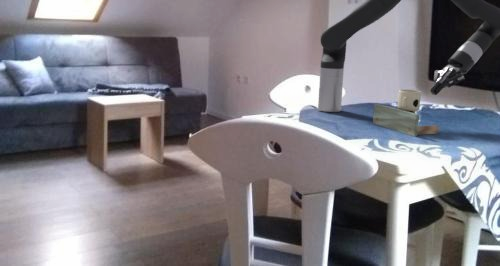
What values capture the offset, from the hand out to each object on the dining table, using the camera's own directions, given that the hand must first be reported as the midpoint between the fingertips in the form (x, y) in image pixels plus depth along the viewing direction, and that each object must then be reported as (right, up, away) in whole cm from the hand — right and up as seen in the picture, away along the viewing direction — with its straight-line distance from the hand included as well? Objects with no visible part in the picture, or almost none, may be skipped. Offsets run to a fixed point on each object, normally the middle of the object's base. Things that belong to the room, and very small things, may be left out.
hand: (432, 93), depth 166 cm
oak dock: (-9, -12, -2) cm, 16 cm away
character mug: (-10, -13, -3) cm, 16 cm away
